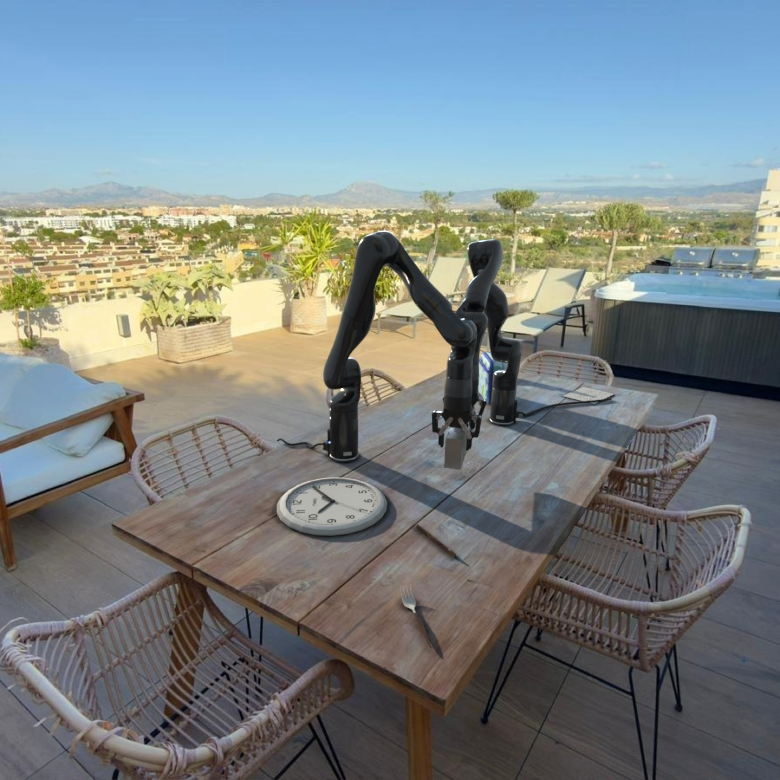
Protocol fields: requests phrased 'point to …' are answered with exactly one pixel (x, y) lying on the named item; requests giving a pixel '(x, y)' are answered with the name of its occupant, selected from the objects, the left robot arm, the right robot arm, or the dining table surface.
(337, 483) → the wall clock
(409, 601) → the fork
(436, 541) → the brown wooden stick
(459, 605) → the dining table surface
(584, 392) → the invitation card
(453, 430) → the bar
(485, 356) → the lunch box
